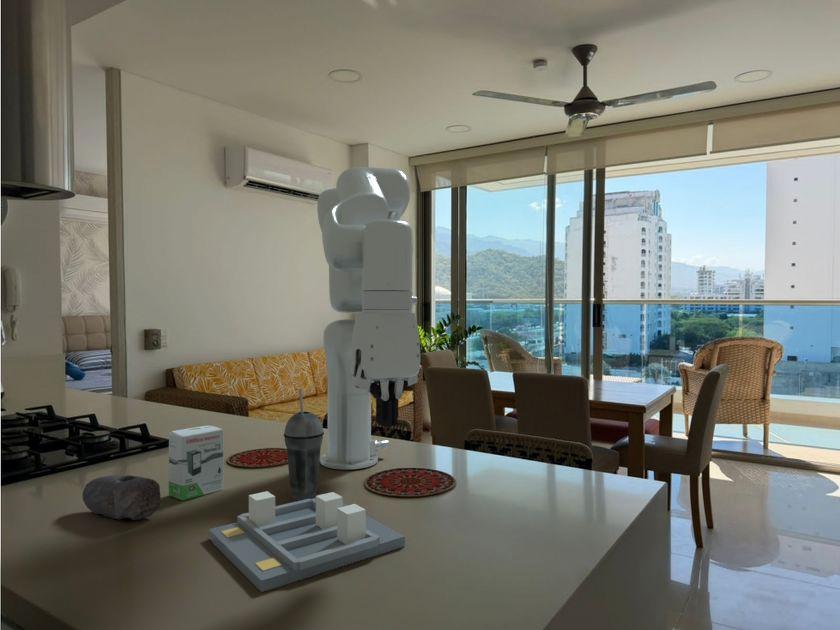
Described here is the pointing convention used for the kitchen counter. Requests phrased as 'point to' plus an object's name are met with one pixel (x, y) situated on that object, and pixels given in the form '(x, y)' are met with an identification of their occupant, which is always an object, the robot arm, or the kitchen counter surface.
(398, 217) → the robot arm
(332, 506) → the tab
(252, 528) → the switch board
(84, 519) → the kitchen counter surface
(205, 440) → the ink box
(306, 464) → the beverage cup
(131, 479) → the perforated stone tool
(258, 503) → the tab
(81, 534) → the kitchen counter surface
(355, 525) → the tab
